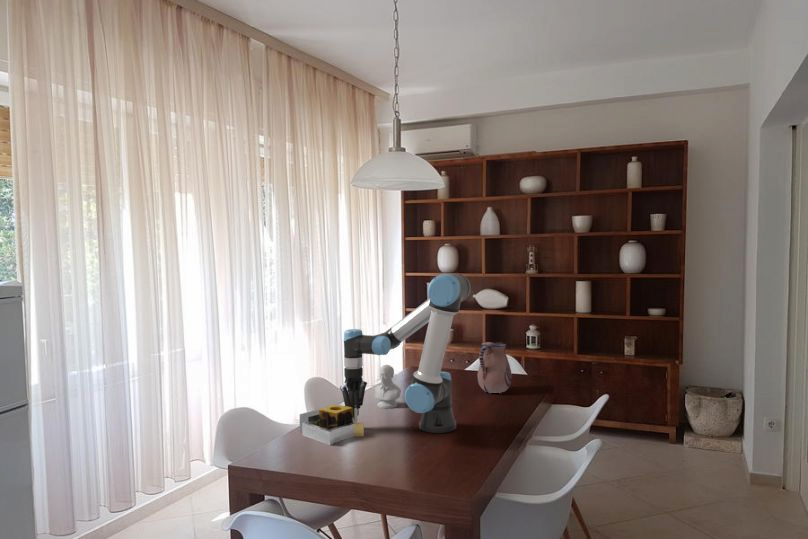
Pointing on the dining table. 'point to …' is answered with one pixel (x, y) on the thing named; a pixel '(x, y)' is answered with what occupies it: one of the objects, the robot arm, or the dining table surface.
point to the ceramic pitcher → (494, 368)
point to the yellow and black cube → (335, 416)
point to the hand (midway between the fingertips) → (354, 424)
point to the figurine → (387, 388)
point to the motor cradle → (313, 431)
